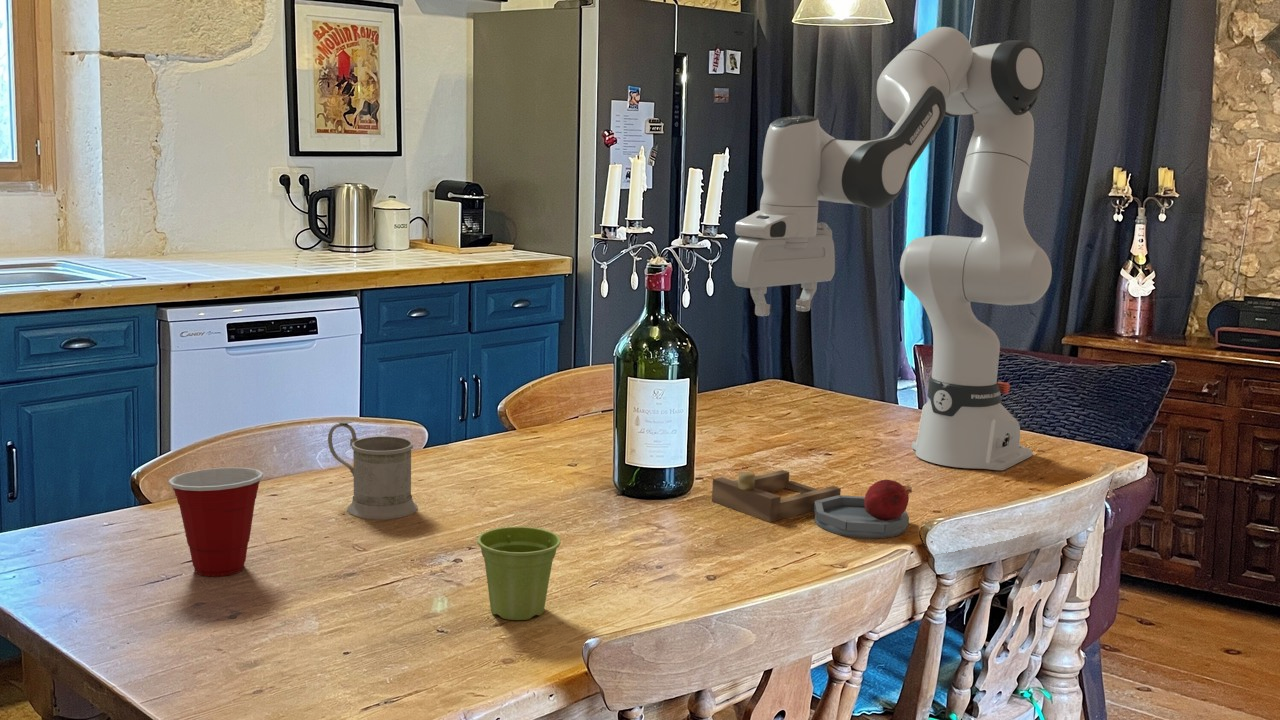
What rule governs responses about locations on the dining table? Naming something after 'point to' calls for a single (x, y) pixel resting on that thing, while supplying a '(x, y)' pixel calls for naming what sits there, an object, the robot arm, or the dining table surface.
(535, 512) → the dining table surface
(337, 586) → the dining table surface
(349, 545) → the dining table surface
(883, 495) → the onion
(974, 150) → the robot arm
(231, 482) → the plastic cup
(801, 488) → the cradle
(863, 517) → the saucer
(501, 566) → the plant pot
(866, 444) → the dining table surface
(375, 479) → the mug
